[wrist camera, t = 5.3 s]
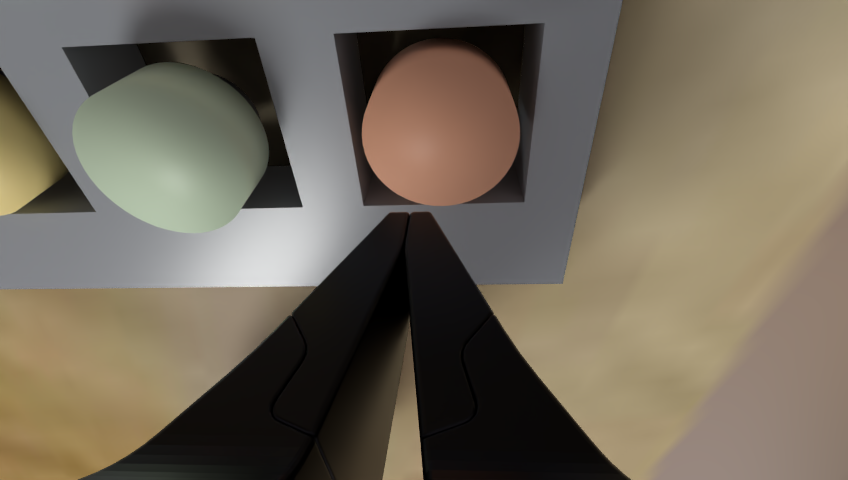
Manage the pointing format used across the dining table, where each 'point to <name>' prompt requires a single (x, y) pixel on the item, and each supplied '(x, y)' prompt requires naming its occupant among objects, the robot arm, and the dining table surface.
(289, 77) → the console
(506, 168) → the button terracotta
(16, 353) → the dining table surface
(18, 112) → the button mustard
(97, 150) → the button sage
